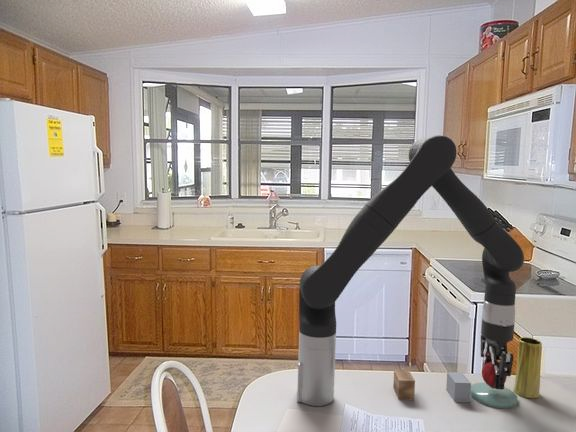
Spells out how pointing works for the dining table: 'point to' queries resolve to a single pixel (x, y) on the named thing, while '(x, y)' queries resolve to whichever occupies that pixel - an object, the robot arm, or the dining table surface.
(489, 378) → the onion
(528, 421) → the dining table surface
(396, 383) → the walnut block
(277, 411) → the dining table surface
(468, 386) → the slate block
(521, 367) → the vase
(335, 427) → the dining table surface
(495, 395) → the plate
